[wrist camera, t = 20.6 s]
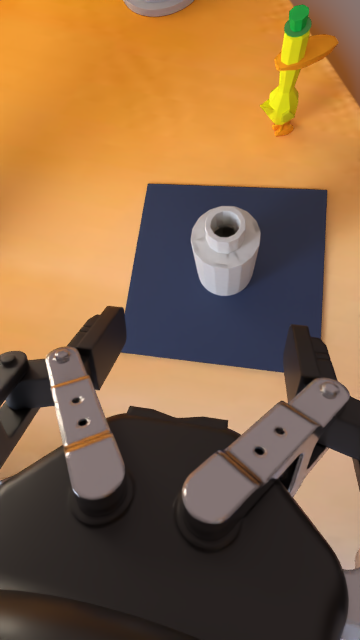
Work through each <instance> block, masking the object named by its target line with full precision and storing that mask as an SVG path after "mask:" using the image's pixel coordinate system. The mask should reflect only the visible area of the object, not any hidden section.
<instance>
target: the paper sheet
mask: <svg viewBox="0 0 360 640" xmlns="http://www.w3.org/2000/svg"><path fill="white" fill-rule="evenodd" d="M220 206H235V207H238V208H240V209H242V210H245V211H247V212H248V213H249V214H250V215H251V216H252V217H253V218H254V219H255V220H256V221H257V224H258V227H259V229H260V233H261V234H260V245H259V249H258V253H257V258H256V262H255V266H254V271H253V275H252V277H251V280H250V282H249V283H248V285H247V286H246V287H245V288H244V289H243V290H242V291H240V292H238V293H236V294H234V295H230V296H220V295H216V294H213V293H211V292H210V291H208V290H207V289H206V288H205V287H204V286H203V285H202V283H201V281H200V279H199V275H198V272H197V267H196V263H195V258H194V254H193V249H192V244H191V235H192V229H193V227H194V225H195V224H196V222H197V220H198V219H199V217H201V216H202V215H203V214H205V213H206V212H207V211H208V210H210V209H214V208H217V207H220ZM326 207H327V190H315V189H286V188H257V187H228V186H200V185H171V184H148V186H147V191H146V197H145V203H144V208H143V214H142V220H141V225H140V231H139V237H138V242H137V248H136V253H135V259H134V265H133V270H132V276H131V282H130V287H129V293H128V299H127V304H126V310H125V323H126V333H127V337H126V343H125V345H124V347H123V349H122V351H121V352H122V353H130V354H138V355H146V356H154V357H162V358H170V359H179V360H187V361H195V362H203V363H211V364H219V365H227V366H235V367H243V368H251V369H259V370H267V371H275V372H284V367H283V355H284V349H285V344H286V340H287V335H288V331H289V327H290V325H291V324H294V325H304V326H308V328H309V332H310V336H311V337H316V338H320V339H321V323H322V300H323V277H324V253H325V230H326Z"/></svg>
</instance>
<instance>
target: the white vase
mask: <svg viewBox="0 0 360 640" xmlns="http://www.w3.org/2000/svg"><path fill="white" fill-rule="evenodd" d="M260 234H261V233H260V229H259V227H258V224H257V221H256V220H255V219H254V218H253V217H252V216H251V215H250V214H249V213H248V212H247V211H245V210H242V209H240V208H238V207H235V206H220V207H217V208H214V209H210V210H208V211H207V212H206V213H205V214H203V215H202V216H201V217H199V219H198V220H197V222H196V224H195V225H194V227H193V229H192V235H191V244H192V249H193V254H194V258H195V263H196V267H197V272H198V275H199V279H200V281H201V283H202V285H203V286H204V287H205V288H206V289H207V290H208V291H210V292H211V293H213V294H216V295H220V296H230V295H234V294H236V293H238V292H240V291H242V290H243V289H244V288H245V287H246V286H247V285H248V283H249V282H250V280H251V277H252V275H253V271H254V266H255V262H256V258H257V253H258V249H259V245H260Z"/></svg>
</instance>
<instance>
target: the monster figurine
mask: <svg viewBox="0 0 360 640" xmlns="http://www.w3.org/2000/svg"><path fill="white" fill-rule="evenodd" d="M123 1H124V3H125V4H126V6H127V7H128V8H129V9H131V10H132V11H133V12H135V13H137V14H140V15H144V16H153V17H156V16H164V15H169V14H172V13H175V12H177V11H180V10H182V9H183V8H185V7H187V6H188V5H189V4H191V3H192V2H193V1H194V0H123Z"/></svg>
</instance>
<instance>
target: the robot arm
mask: <svg viewBox="0 0 360 640" xmlns="http://www.w3.org/2000/svg"><path fill="white" fill-rule="evenodd" d="M126 337H127V333H126V323H125V314H124V309H123V308H122V307H114V306H107V307H106V308H105V310H104V311H103V312H102V313H101V315H95V316H93V317H92V318H90V319H88V321H87V322H86V323H85V324H84V326H83V327H82V328H81V329H80V331H79V332H78V333H77V334H76V335H75V337H74V338H73V339H72V340H71V342H70V343H69V344H68V345H67V347H60V348H57V349H55V350H53V351H51V352H50V353H49V354H48V355H47V356H46V359H37V360H28V359H27V356H26V354H25V353H23V352H21V351H11V352H6V353H4V354H1V355H0V406H1V405H2V403H3V402H4V401H5V400H6V402H5V403H4V404H3V406H2V407H1V408H0V469H1V467H2V466H3V464H4V462H5V461H6V459H7V458H8V456H9V455H10V453H11V452H12V450H13V449H14V447H15V446H16V444H17V442H18V441H19V439H20V438H21V436H22V435H23V433H24V432H25V430H26V429H27V427H28V426H29V424H30V422H31V421H32V419H33V418H34V416H35V415H36V413H37V412H38V410H39V409H40V407H47V406H55V410H56V415H57V419H58V424H59V428H60V433H61V437H62V442H63V445H62V446H60V447H59V448H57V449H56V450H54V451H53V452H51V453H49V454H48V455H46V456H45V457H43V458H41V459H40V460H38V461H37V462H35V463H33V464H32V465H30V466H29V467H27V468H25V469H24V470H22V471H21V472H19V473H18V474H16V475H14V476H13V477H11V478H10V479H8V480H7V481H5V482H4V483H2V484H1V485H0V640H340V639H344V640H360V549H359V550H358V552H357V554H356V557H355V569H353V570H344V569H342V567H341V564H340V562H339V560H338V558H337V556H336V554H335V553H334V551H333V550H332V548H331V547H330V545H329V544H328V543H327V541H326V540H325V539H324V537H323V536H322V535H321V533H320V532H319V531H318V530H317V528H316V527H315V526H314V524H313V523H312V522H311V520H310V519H309V518H308V517H307V515H306V514H305V513H304V511H303V510H302V509H301V507H300V506H299V505H298V503H297V502H296V501H295V500H294V498H293V497H294V495H295V494H296V492H297V491H298V489H299V488H300V486H301V484H302V482H303V480H304V479H305V477H306V476H307V475H308V473H309V472H310V471H311V470H312V469H313V467H314V466H315V465H316V464H317V462H318V461H319V460H320V459H321V458H322V456H323V455H324V454H325V453H326V452H327V450H328V449H329V448H331V449H333V450H335V451H338V452H340V453H343V454H345V455H347V456H350V457H352V459H353V463H354V468H355V472H356V477H357V481H358V486H359V490H360V401H359V400H357V399H355V398H353V397H351V396H350V394H349V391H348V390H347V388H346V387H345V386H344V385H342V384H341V383H340V382H338V381H337V378H336V375H335V372H334V368H333V365H332V362H331V361H330V356H329V354H328V350H327V347H326V345H325V344H324V343H323V342H322V341H321V339H320V338H316V337H311V336H310V332H309V328H308V326H304V325H294V324H291V325H290V327H289V331H288V335H287V340H286V344H285V349H284V355H283V367H284V375H285V383H286V391H287V399H288V403H285V402H284V401H280V402H278V403H277V404H276V405H275V406H274V407H273V408H272V409H270V410H269V411H268V412H267V413H266V414H265V415H264V416H262V417H261V418H260V419H259V420H258V421H257V422H256V423H255V424H253V425H252V426H251V427H250V428H249V429H248V430H247V431H245V432H244V433H243V434H242V435H240V434H239V433H237V432H235V431H233V430H231V429H228V428H227V427H228V420H222V419H215V418H208V417H190V418H174V417H172V416H169V415H167V414H164V413H161V412H159V411H156V410H154V409H147V408H141V407H134V406H130V407H129V409H128V411H127V413H124V414H118V415H114V416H111V417H108V418H105V415H104V413H103V410H102V407H101V405H100V402H99V399H98V397H97V394H96V392H95V390H100V388H101V386H102V385H103V383H104V381H105V379H106V377H107V376H108V374H109V372H110V370H111V369H112V367H113V365H114V363H115V361H116V360H117V358H118V356H119V354H120V352H121V351H122V349H123V347H124V345H125V343H126Z"/></svg>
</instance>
